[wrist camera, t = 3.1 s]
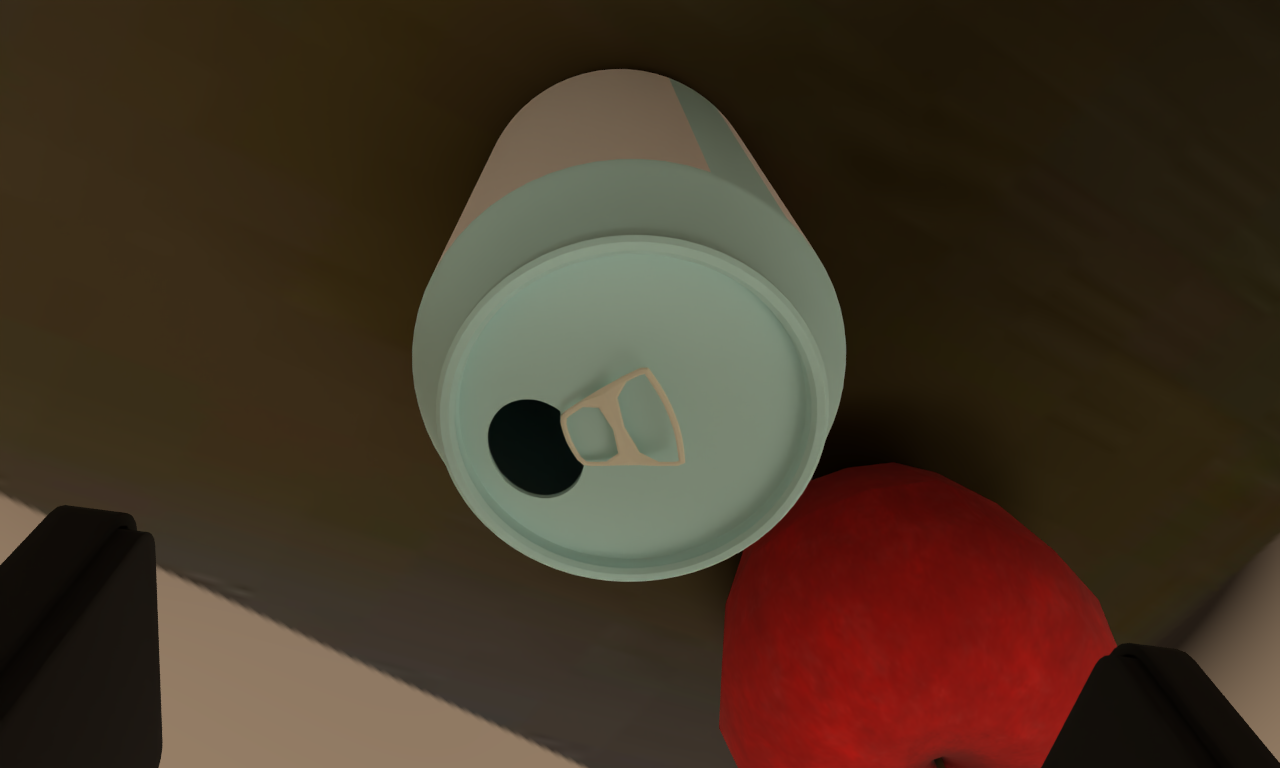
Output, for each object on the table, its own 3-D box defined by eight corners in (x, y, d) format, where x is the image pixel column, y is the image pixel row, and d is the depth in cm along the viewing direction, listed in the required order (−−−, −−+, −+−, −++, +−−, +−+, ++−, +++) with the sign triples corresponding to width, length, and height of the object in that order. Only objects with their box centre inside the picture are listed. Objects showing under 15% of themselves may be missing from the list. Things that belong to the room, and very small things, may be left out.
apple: (872, 330, 26) (1033, 571, 16) (1063, 521, 29) (1293, 818, 20) (630, 541, 29) (644, 852, 19) (827, 694, 32) (925, 1027, 22)
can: (656, 372, 26) (694, 679, 16) (436, 244, 24) (306, 494, 14) (807, 166, 24) (975, 361, 13) (575, 5, 22) (551, 81, 11)
